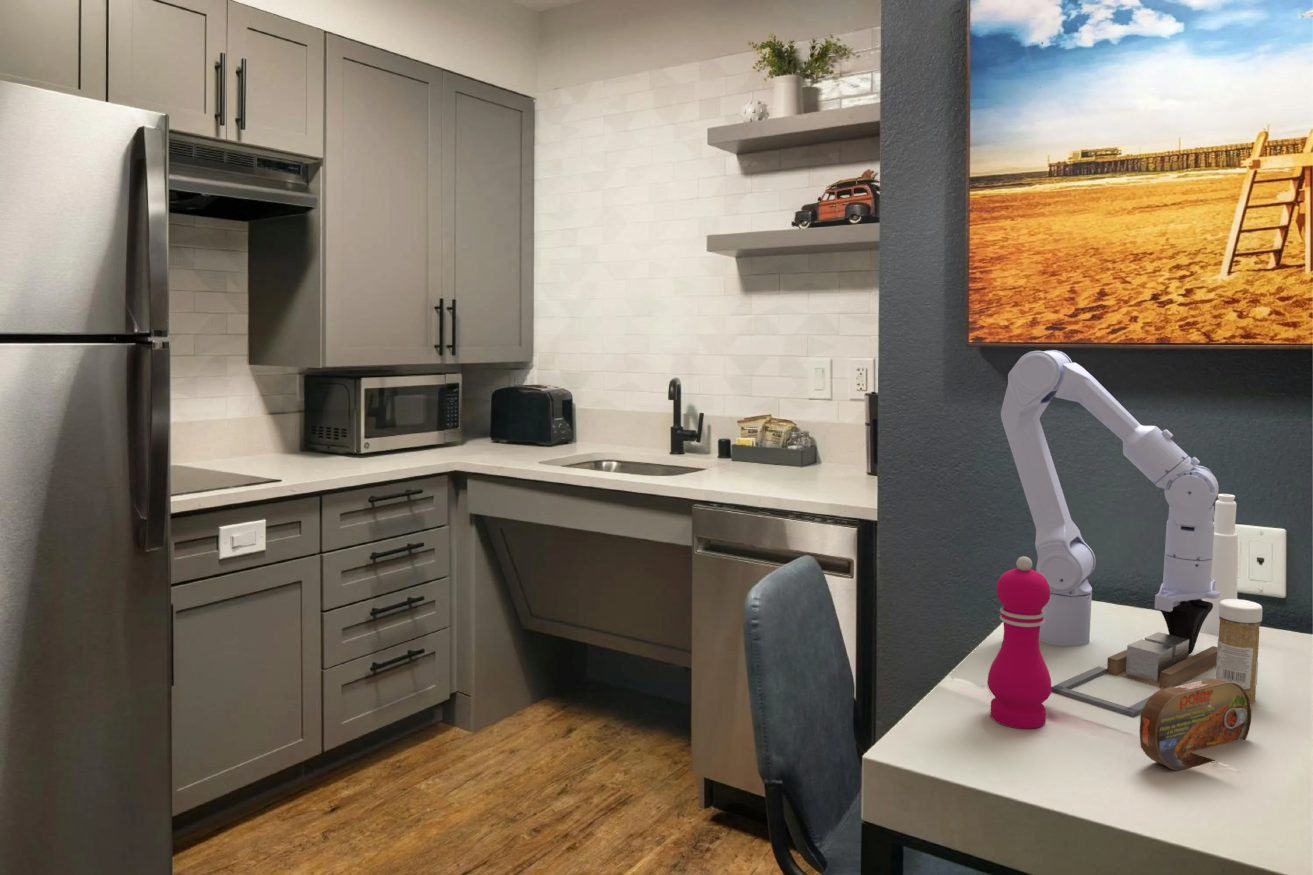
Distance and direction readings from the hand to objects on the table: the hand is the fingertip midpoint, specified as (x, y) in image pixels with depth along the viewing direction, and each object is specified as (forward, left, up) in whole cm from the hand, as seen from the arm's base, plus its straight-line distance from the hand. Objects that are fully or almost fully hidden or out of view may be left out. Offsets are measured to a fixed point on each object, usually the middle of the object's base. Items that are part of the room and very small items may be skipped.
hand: (1182, 652), depth 131 cm
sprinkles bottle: (+10, -9, -3) cm, 14 cm away
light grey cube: (0, -10, -1) cm, 10 cm away
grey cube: (0, -5, -1) cm, 5 cm away
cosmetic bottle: (-3, +20, -3) cm, 20 cm away
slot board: (0, -5, -2) cm, 6 cm away
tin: (+13, -28, -3) cm, 31 cm away
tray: (0, -19, -2) cm, 19 cm away
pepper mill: (-5, -33, -3) cm, 34 cm away
